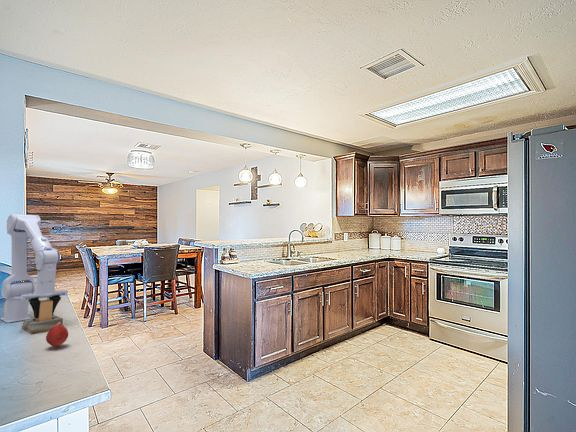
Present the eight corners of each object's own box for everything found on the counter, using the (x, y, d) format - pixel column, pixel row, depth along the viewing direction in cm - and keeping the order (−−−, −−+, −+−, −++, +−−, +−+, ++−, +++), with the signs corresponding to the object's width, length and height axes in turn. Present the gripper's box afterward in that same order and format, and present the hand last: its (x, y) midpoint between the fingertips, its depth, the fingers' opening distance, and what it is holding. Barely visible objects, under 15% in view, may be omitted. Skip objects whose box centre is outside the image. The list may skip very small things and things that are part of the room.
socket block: (21, 328, 121) (22, 319, 121) (52, 322, 129) (53, 314, 129) (31, 334, 114) (32, 324, 115) (63, 328, 123) (64, 318, 123)
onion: (43, 351, 99) (45, 325, 99) (47, 345, 104) (49, 321, 104) (66, 349, 102) (67, 323, 102) (68, 343, 107) (70, 319, 107)
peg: (35, 322, 121) (36, 301, 122) (47, 319, 125) (49, 299, 125) (38, 324, 119) (40, 302, 119) (51, 321, 122) (52, 300, 123)
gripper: (26, 284, 114) (23, 322, 114) (71, 280, 126) (69, 314, 126) (19, 282, 119) (17, 319, 118) (64, 278, 130) (62, 311, 130)
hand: (43, 316), depth 122 cm, fingers closed on peg, 4 cm apart
